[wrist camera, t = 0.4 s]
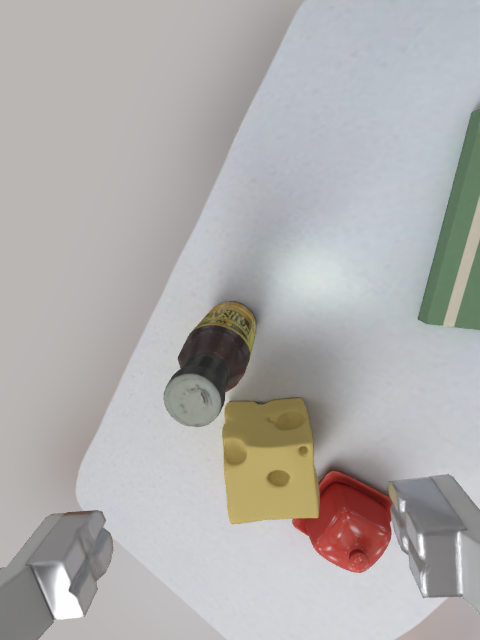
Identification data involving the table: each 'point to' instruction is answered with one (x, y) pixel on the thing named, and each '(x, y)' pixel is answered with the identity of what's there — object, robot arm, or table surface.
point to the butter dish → (349, 523)
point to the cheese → (269, 461)
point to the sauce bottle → (211, 364)
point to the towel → (458, 246)
